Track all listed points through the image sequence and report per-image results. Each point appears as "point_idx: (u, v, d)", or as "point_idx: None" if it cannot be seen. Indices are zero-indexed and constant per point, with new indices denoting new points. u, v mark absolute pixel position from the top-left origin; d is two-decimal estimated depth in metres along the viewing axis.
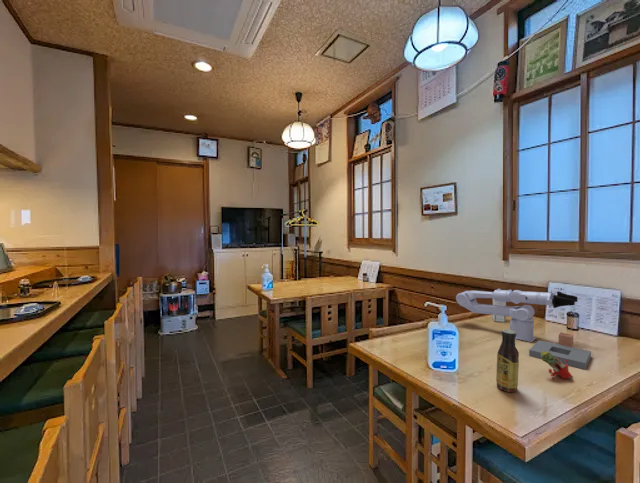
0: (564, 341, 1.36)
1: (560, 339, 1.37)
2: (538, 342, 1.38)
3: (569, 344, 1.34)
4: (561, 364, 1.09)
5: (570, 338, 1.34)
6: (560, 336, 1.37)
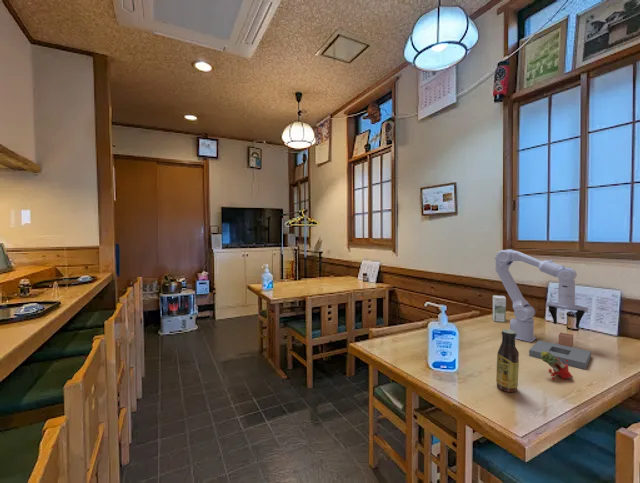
0: (564, 341, 1.36)
1: (560, 339, 1.37)
2: (538, 342, 1.38)
3: (569, 344, 1.34)
4: (561, 364, 1.09)
5: (570, 338, 1.34)
6: (560, 336, 1.37)
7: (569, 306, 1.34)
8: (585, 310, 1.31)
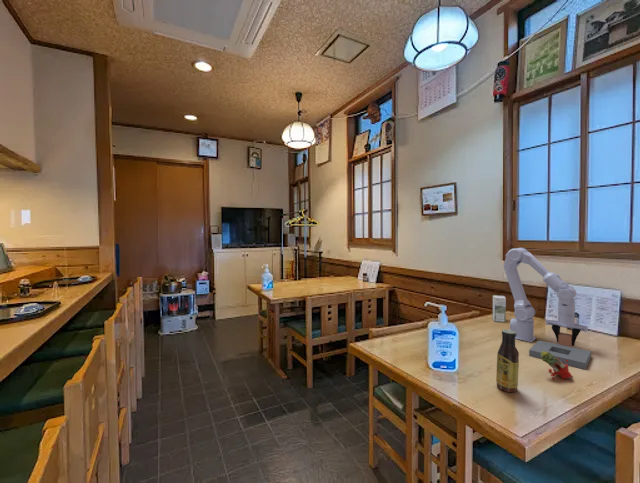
0: (564, 341, 1.36)
1: (560, 339, 1.37)
2: (538, 342, 1.38)
3: (569, 344, 1.34)
4: (561, 364, 1.09)
5: (570, 338, 1.34)
6: (560, 336, 1.37)
7: (569, 325, 1.34)
8: (585, 329, 1.31)
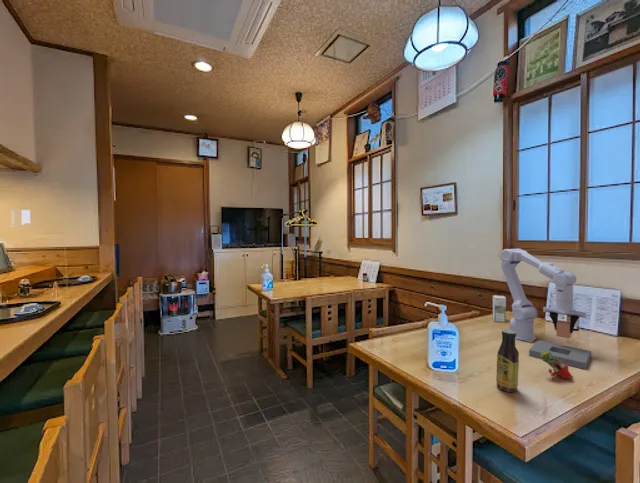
0: (562, 328, 1.32)
1: (558, 327, 1.33)
2: (538, 342, 1.38)
3: (567, 331, 1.31)
4: (561, 364, 1.09)
5: (568, 325, 1.30)
6: (558, 323, 1.33)
7: (567, 311, 1.30)
8: (583, 315, 1.27)
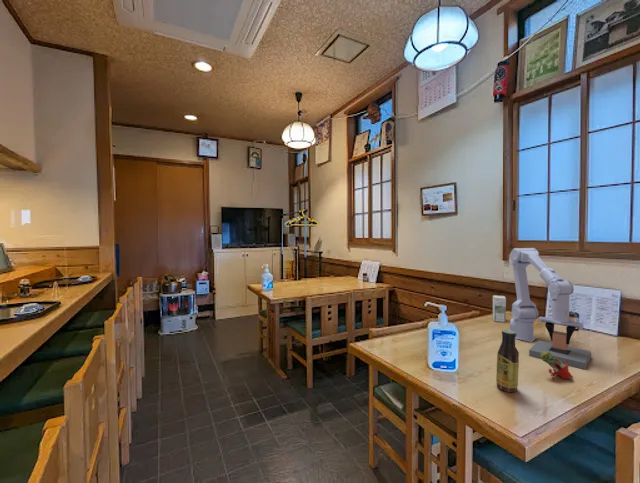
0: (558, 339, 1.27)
1: (554, 338, 1.28)
2: (538, 342, 1.38)
3: (564, 343, 1.26)
4: (561, 364, 1.09)
5: (565, 336, 1.25)
6: (554, 334, 1.28)
7: (563, 322, 1.25)
8: (580, 326, 1.22)
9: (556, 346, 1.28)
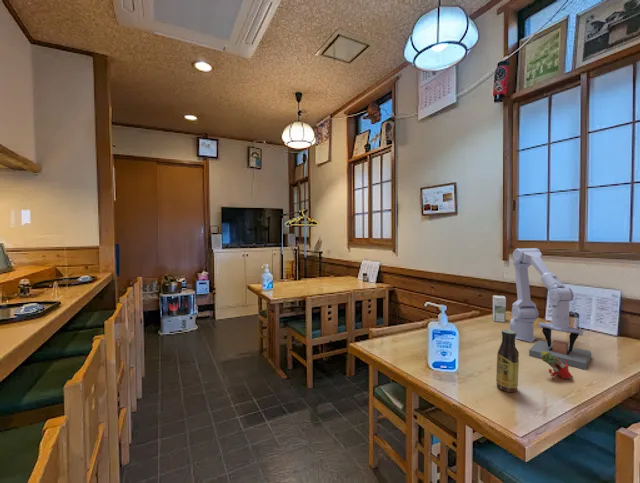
0: (558, 349, 1.27)
1: (554, 347, 1.28)
2: (538, 342, 1.38)
3: (564, 352, 1.26)
4: (561, 364, 1.09)
5: (565, 346, 1.25)
6: (554, 344, 1.28)
7: (563, 328, 1.25)
8: (580, 333, 1.22)
9: None
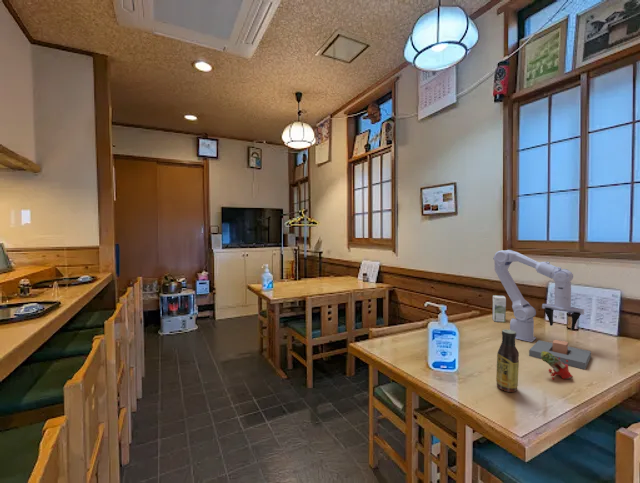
0: (558, 349, 1.27)
1: (554, 347, 1.28)
2: (538, 342, 1.38)
3: (564, 352, 1.26)
4: (561, 364, 1.09)
5: (565, 346, 1.26)
6: (554, 344, 1.28)
7: (565, 308, 1.34)
8: (581, 312, 1.31)
9: None
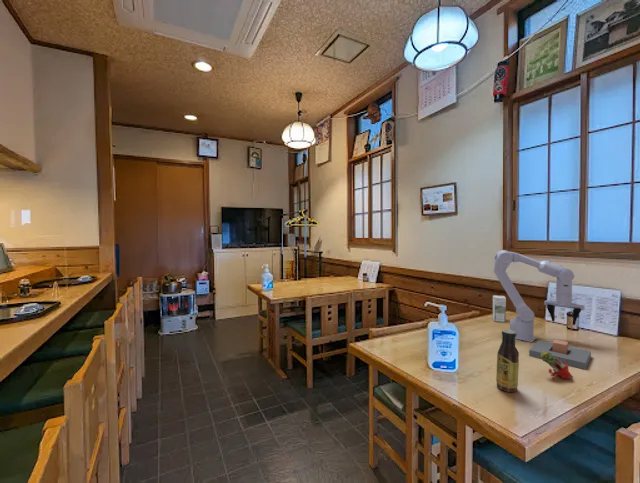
0: (558, 349, 1.27)
1: (554, 347, 1.28)
2: (538, 342, 1.38)
3: (564, 352, 1.26)
4: (561, 364, 1.09)
5: (565, 346, 1.25)
6: (554, 344, 1.28)
7: (566, 304, 1.40)
8: (581, 308, 1.37)
9: None
